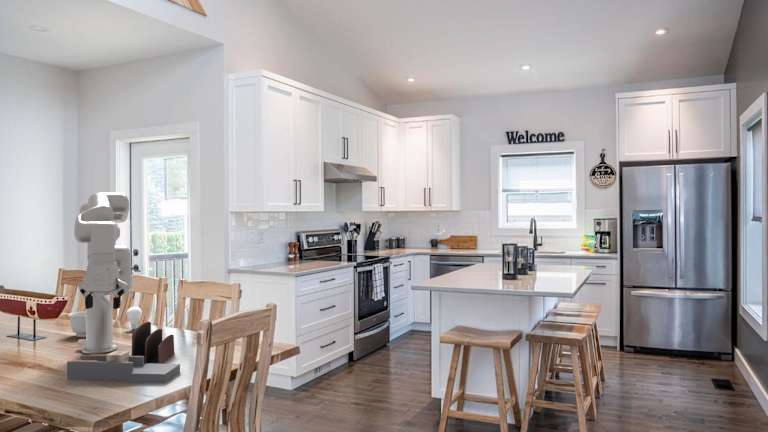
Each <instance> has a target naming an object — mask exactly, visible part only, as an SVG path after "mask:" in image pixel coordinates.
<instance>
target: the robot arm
mask: <svg viewBox="0 0 768 432" xmlns="http://www.w3.org/2000/svg"><path fill="white" fill-rule="evenodd" d="M129 211H130V200H129V198H128V196H127V195H126V194H125V193H124V192H95V193H92V194H91V195H90V196H89V197H88V200H87V202H86V203H83V204H81V206H80V208H79V214H78V215H77V216H76V218H75V220H74V221H75V222H74V228H73V229H74V230H73V231H74V238H75V240H76V241H77V242H78V243H79V244H86V245H87V246H86V247H87V250H86V251H87V255H86V256H87V258H86V259H87V266H86V270H85V276H84V278H83V281H81V282H79V283H77V287H78V289H79V290H80V291H79V292H80V293H81V294H82V296H83V298H84V306H85V311H86V336H85V339H78V340H77V343H76V344H77V345H76V346H83V347H82V348H81V352H82V353H83V354H86V355H90V354H104V353H109V352H110V353H111V352H112V351H113V352H114V351H116V349H118V348H117V347H118V346H117V344H115V343H113V342H114V341H113V339H114V338H113V336H114V335H113V330H114V329H113V328H114V327H113V326H114V325H113V323H114V322H113V320H114V319H113V313H114V312H113V311H114V310H116V309H117V310H118V309H120V308H121V305H122V298H121V297H122V296H123V295H124V294H129V293H130V292H131V290H132V286H133V278H132V277H133V276H132V274H133V273H132V254H131V251H130V248H129V247H128V246H126V245H119V244H118V245H116V242H117V241H118V240H119V238H120V236H121V228H120V226H119V225H118V223H119V224H120V223H121V224H122V223H124V222H126V221H127V219H128V218H129V217H128V216H129ZM112 295H113V296H114V297H113V298H112V302H111V301H110V300H109V299H108V298H107V297H106V296H112ZM112 303H113V304H112Z"/></svg>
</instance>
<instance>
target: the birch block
mask: <svg viewBox="0 0 768 432" xmlns="http://www.w3.org/2000/svg"><path fill="white" fill-rule="evenodd" d="M106 355H107V362H129V356H130V352H129V351H127V350H126V351H122V350H121V351H118V350H117V351H116V350H113V352H112V351H111V352H110V353H107V354H106Z"/></svg>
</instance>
